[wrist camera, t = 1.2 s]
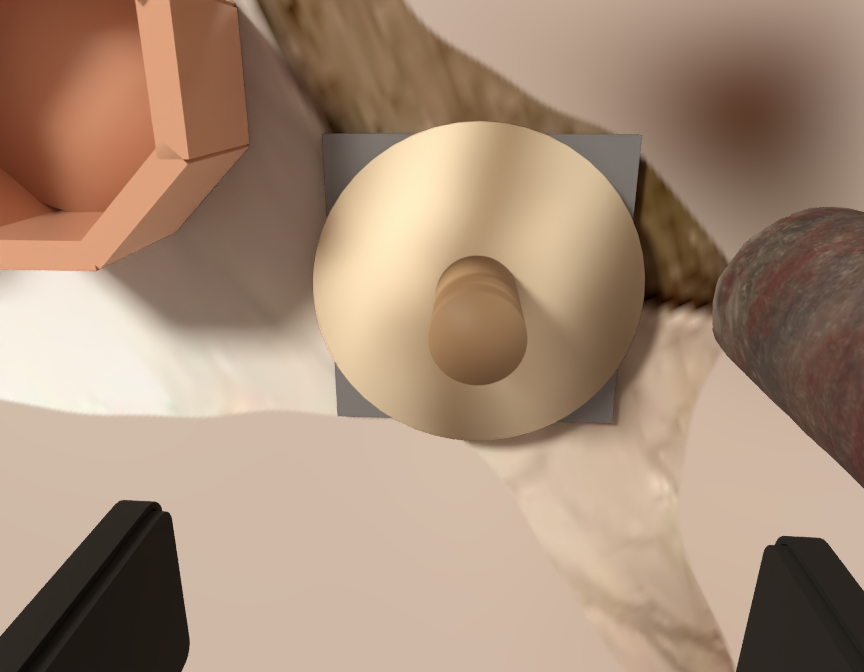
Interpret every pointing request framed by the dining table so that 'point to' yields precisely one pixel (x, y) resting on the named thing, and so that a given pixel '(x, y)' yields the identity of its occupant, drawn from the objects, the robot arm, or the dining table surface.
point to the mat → (602, 150)
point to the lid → (478, 281)
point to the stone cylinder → (803, 324)
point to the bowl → (112, 124)
